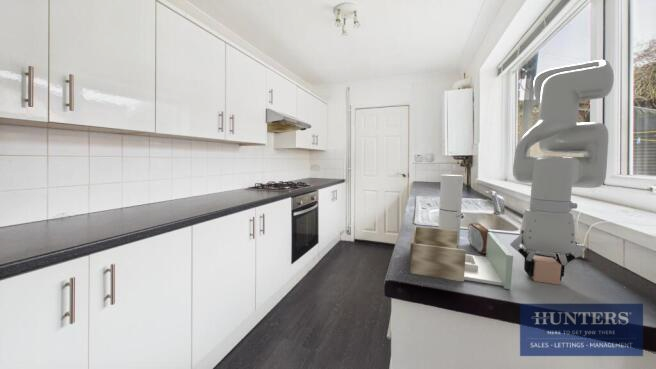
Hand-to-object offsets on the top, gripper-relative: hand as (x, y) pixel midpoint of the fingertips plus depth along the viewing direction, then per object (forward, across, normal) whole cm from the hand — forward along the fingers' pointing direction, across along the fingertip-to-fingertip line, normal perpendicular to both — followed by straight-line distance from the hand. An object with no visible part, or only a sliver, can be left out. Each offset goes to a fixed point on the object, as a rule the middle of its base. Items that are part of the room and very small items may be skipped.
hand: (542, 275), depth 65 cm
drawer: (+1, +16, 0) cm, 16 cm away
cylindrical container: (+1, +20, -22) cm, 30 cm away
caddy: (+1, +25, 0) cm, 25 cm away
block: (+1, 0, 0) cm, 1 cm away
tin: (+1, +12, -19) cm, 22 cm away
